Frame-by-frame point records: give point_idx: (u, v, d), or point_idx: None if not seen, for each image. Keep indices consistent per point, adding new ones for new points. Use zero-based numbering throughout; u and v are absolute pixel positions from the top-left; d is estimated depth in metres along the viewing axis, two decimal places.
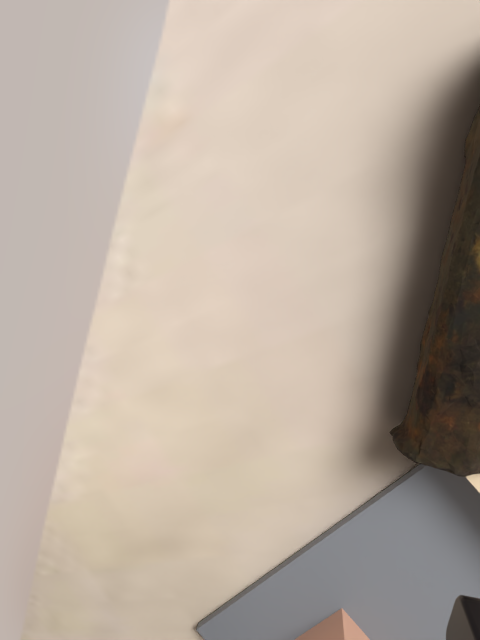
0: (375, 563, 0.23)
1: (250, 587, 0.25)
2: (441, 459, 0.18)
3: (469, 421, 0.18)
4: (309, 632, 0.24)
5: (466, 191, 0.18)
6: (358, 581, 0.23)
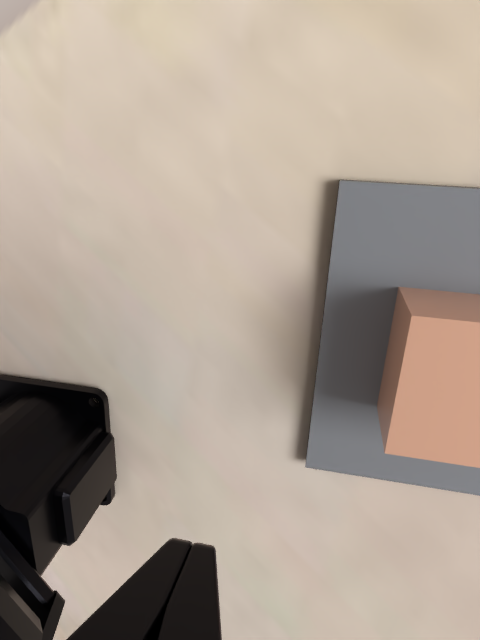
0: None
1: (464, 187, 0.15)
2: None
3: None
4: None
5: None
6: None
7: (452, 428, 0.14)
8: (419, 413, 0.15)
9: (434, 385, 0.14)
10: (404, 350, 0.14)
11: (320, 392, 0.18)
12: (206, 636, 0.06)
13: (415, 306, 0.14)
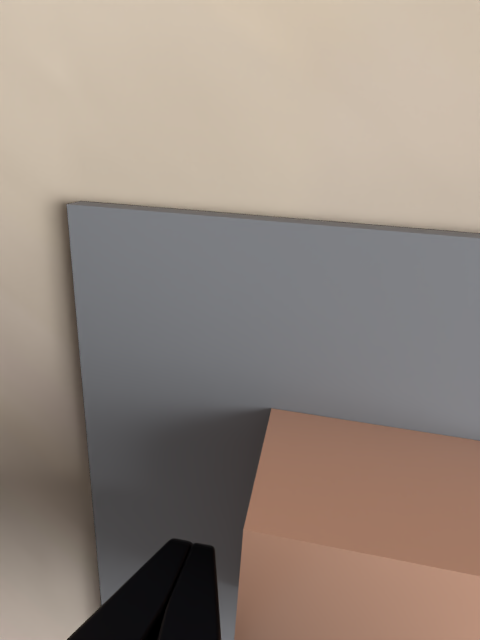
0: None
1: (296, 220, 0.08)
2: None
3: None
4: (423, 438, 0.08)
5: None
6: None
7: None
8: None
9: None
10: (239, 588, 0.06)
11: (105, 549, 0.11)
12: (206, 636, 0.06)
13: (271, 484, 0.07)
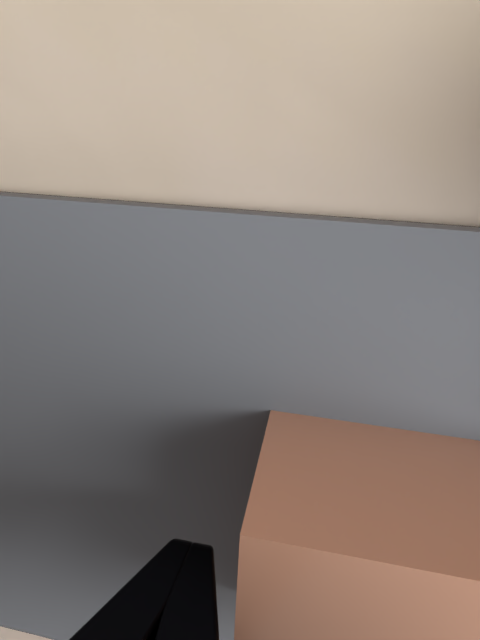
0: (308, 364, 0.08)
1: None
2: None
3: None
4: (425, 438, 0.08)
5: None
6: (233, 368, 0.08)
7: None
8: None
9: None
10: (237, 594, 0.06)
11: None
12: (204, 635, 0.06)
13: (269, 488, 0.07)
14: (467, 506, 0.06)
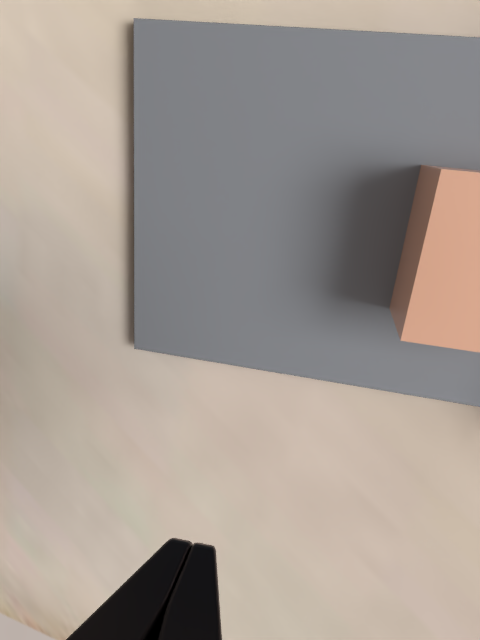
0: (449, 131, 0.14)
1: None
2: None
3: None
4: None
5: None
6: (402, 136, 0.14)
7: (478, 308, 0.13)
8: (442, 291, 0.13)
9: (462, 255, 0.13)
10: (430, 213, 0.12)
11: (139, 262, 0.18)
12: (206, 636, 0.06)
13: (443, 168, 0.13)
14: None
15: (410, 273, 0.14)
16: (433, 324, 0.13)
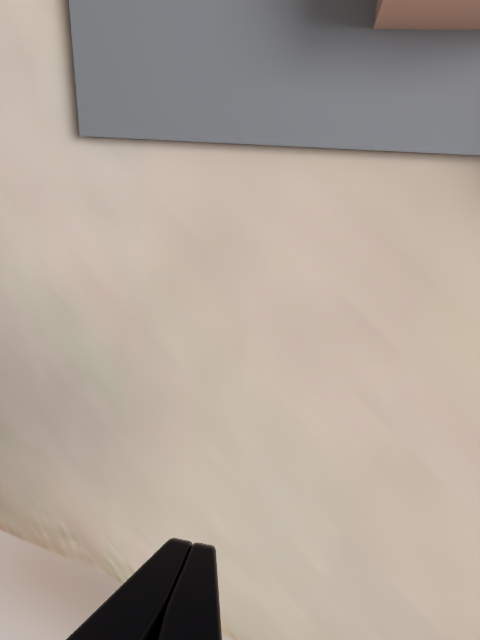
0: None
1: None
2: None
3: None
4: None
5: None
6: None
7: None
8: None
9: None
10: None
11: (76, 13, 0.15)
12: (206, 636, 0.06)
13: None
14: None
15: None
16: None
